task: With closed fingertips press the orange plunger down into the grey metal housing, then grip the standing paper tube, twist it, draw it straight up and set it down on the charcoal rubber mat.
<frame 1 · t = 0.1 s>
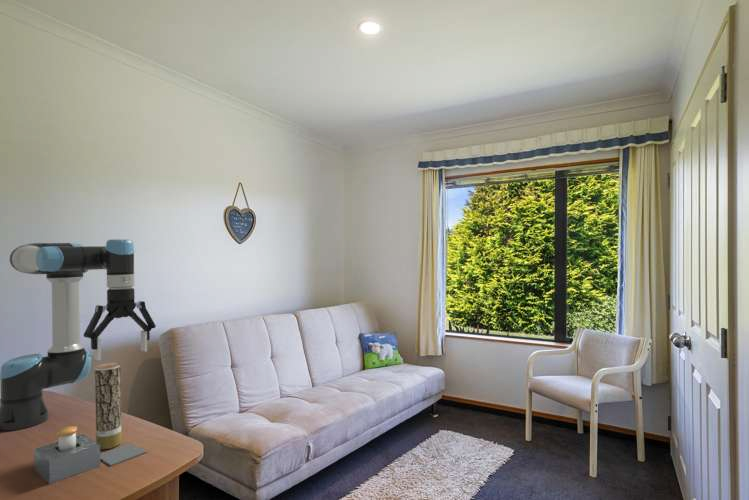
hand: (121, 355, 136), 28 cm above the table, fingers open, 13 cm apart
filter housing: (67, 468, 121), on the table
plunger: (67, 441, 121), point 7 cm above the table, slide at 0.0 cm
paper tube: (109, 446, 135), on the table
mat: (121, 454, 129), on the table
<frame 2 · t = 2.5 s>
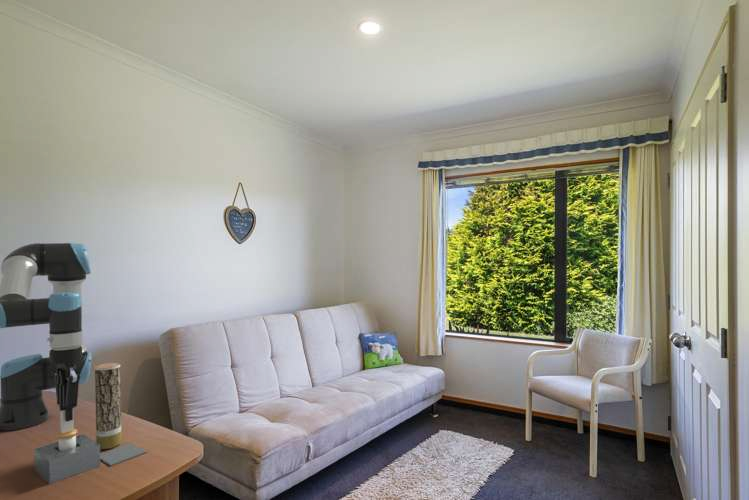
hand: (67, 431, 121), 10 cm above the table, fingers closed
plunger: (67, 444, 121), point 7 cm above the table, slide at 0.7 cm, touching gripper
everything else where it was.
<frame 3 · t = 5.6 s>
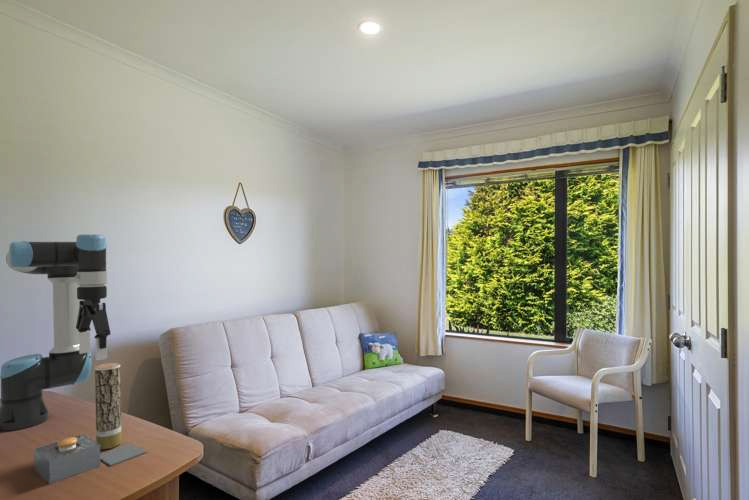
hand: (92, 356, 130), 29 cm above the table, fingers open, 13 cm apart
plunger: (67, 452, 121), point 4 cm above the table, slide at 3.1 cm
everything else where it was.
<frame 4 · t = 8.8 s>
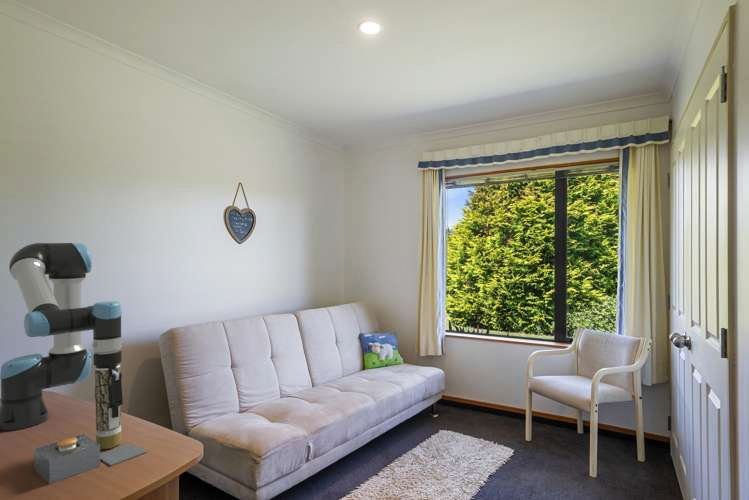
hand: (108, 424, 135), 7 cm above the table, fingers closed on paper tube, 7 cm apart
paper tube: (109, 446, 135), on the table, touching gripper
everything else where it was.
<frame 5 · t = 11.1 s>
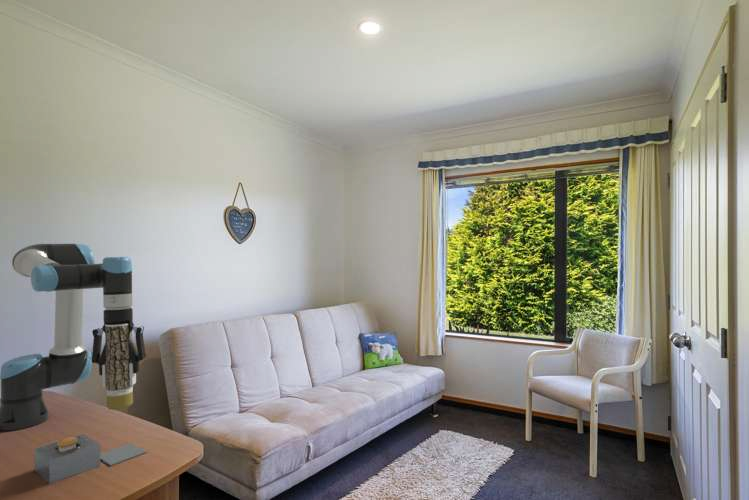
hand: (119, 384, 129), 21 cm above the table, fingers closed on paper tube, 7 cm apart
paper tube: (120, 407, 129), point 14 cm above the table, touching gripper
everything else where it was.
when the fingers open (8 cm above the table, at t = 13.8 s): paper tube stays where it is, resting on mat.
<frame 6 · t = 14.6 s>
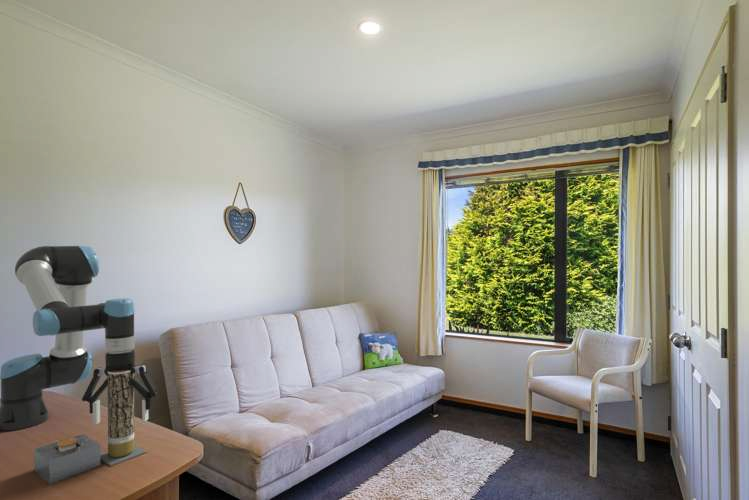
hand: (121, 422, 129), 10 cm above the table, fingers open, 13 cm apart
paper tube: (121, 453, 129), resting on mat
everything else where it was.
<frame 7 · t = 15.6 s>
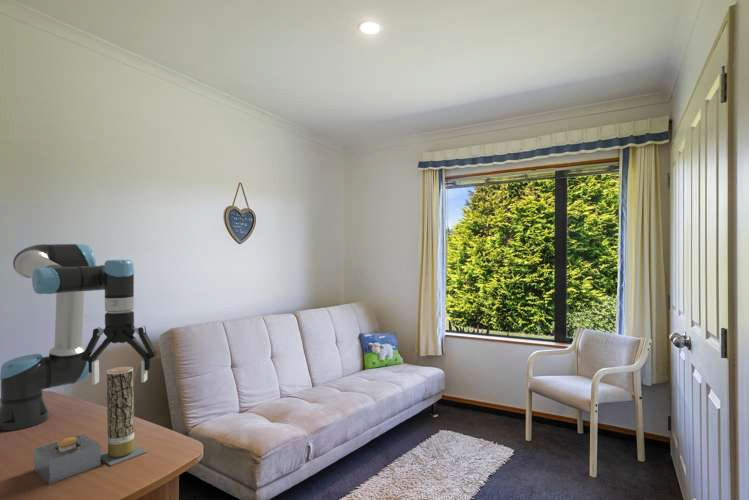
hand: (120, 382, 129), 22 cm above the table, fingers open, 13 cm apart
nothing on the table moved.
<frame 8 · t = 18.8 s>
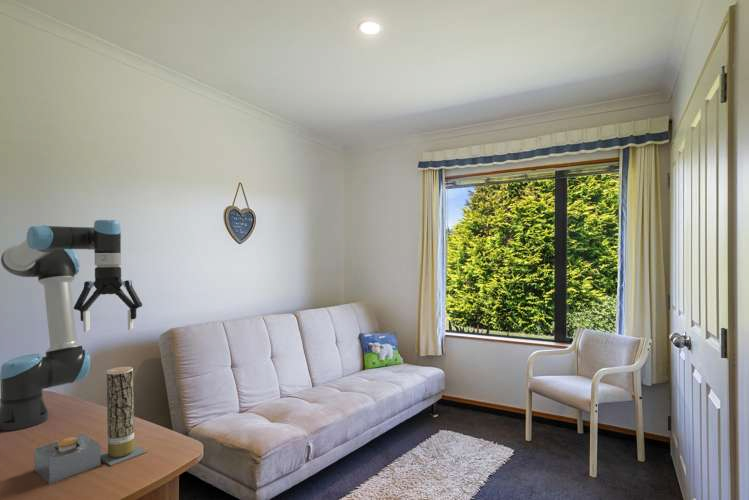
hand: (109, 330, 144), 35 cm above the table, fingers open, 13 cm apart
nothing on the table moved.
at the end: plunger slide at 3.1 cm; paper tube 0.1 cm from the mat (horizontally); paper tube tilted 0° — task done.
